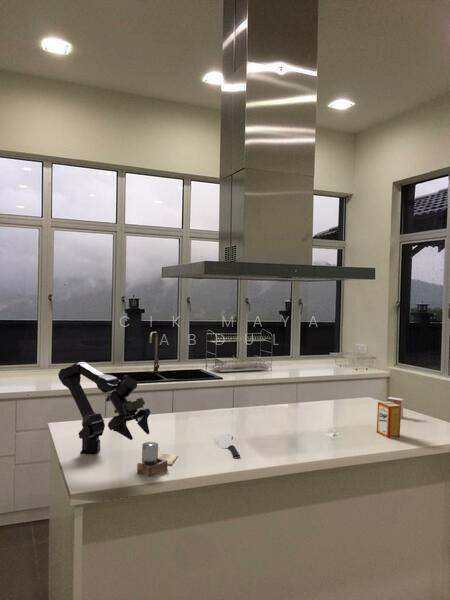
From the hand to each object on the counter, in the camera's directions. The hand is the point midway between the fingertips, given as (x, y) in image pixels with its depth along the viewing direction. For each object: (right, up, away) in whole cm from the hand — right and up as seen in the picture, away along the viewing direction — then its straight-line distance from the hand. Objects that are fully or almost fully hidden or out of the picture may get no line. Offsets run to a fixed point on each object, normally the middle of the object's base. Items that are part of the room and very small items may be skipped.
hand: (140, 436), depth 191 cm
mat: (+6, -12, +9) cm, 16 cm away
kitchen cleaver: (+33, -13, +29) cm, 46 cm away
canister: (+4, -12, -3) cm, 13 cm away
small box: (+130, -14, +90) cm, 159 cm away
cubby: (+5, -12, -3) cm, 14 cm away
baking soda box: (+114, -14, +54) cm, 127 cm away
